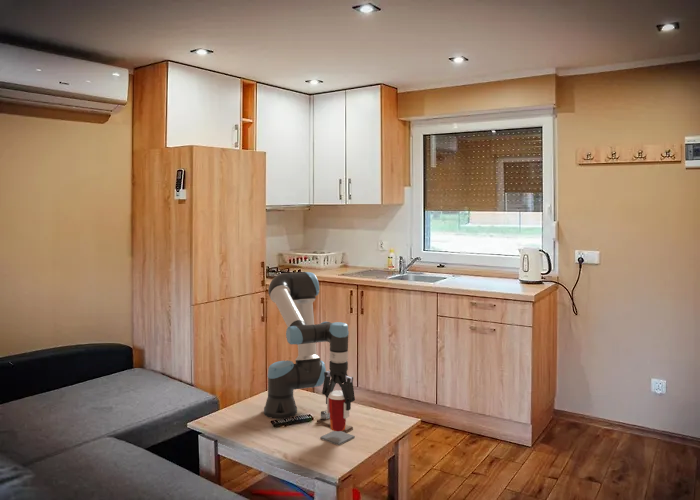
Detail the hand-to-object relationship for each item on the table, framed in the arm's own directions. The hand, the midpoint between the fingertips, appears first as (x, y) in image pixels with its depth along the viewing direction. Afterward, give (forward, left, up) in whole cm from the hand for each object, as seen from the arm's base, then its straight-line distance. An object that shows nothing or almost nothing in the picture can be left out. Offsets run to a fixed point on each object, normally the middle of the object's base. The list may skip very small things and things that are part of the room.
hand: (338, 414), depth 237 cm
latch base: (-10, +9, -10) cm, 17 cm away
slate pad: (0, 0, -10) cm, 10 cm away
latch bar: (-17, +15, -9) cm, 24 cm away
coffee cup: (0, 0, -6) cm, 6 cm away
